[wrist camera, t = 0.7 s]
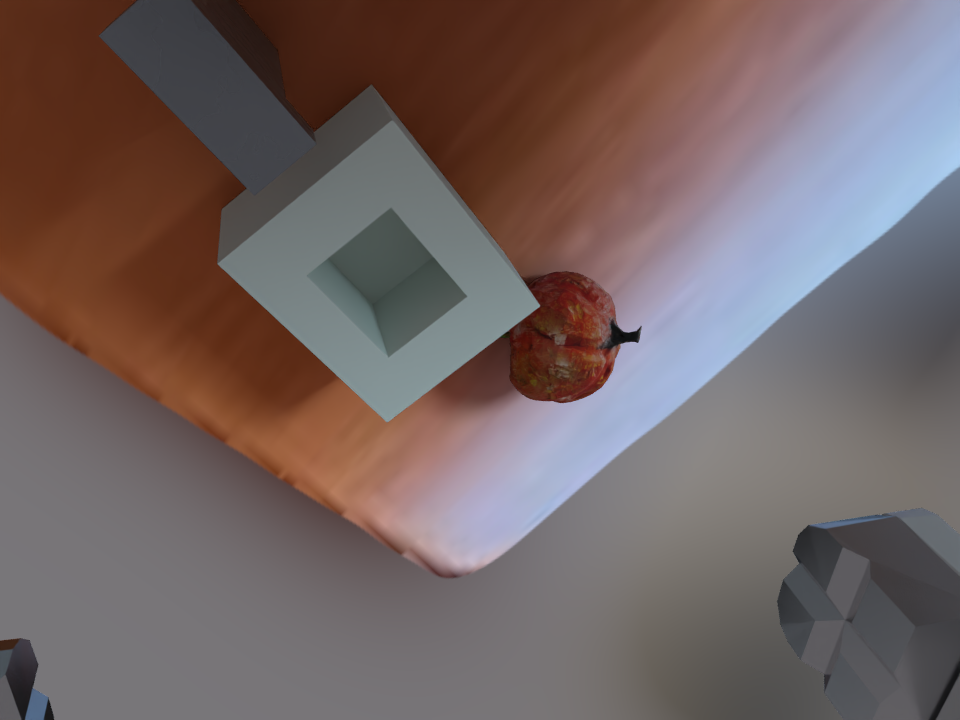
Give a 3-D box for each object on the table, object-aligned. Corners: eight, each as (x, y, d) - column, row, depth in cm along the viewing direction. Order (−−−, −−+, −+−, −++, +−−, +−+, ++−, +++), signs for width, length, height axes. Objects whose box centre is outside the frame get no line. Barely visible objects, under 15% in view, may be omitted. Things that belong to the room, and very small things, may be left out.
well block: (371, 84, 40) (392, 119, 35) (504, 252, 47) (540, 306, 41) (221, 209, 42) (217, 263, 36) (370, 356, 48) (387, 422, 42)
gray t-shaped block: (190, -55, 36) (167, -26, 26) (299, 75, 39) (316, 144, 29) (139, -10, 36) (98, 35, 26) (252, 115, 40) (254, 195, 30)
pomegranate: (505, 361, 53) (656, 378, 49) (457, 414, 48) (624, 439, 43) (495, 253, 50) (656, 262, 46) (443, 296, 44) (621, 311, 40)
